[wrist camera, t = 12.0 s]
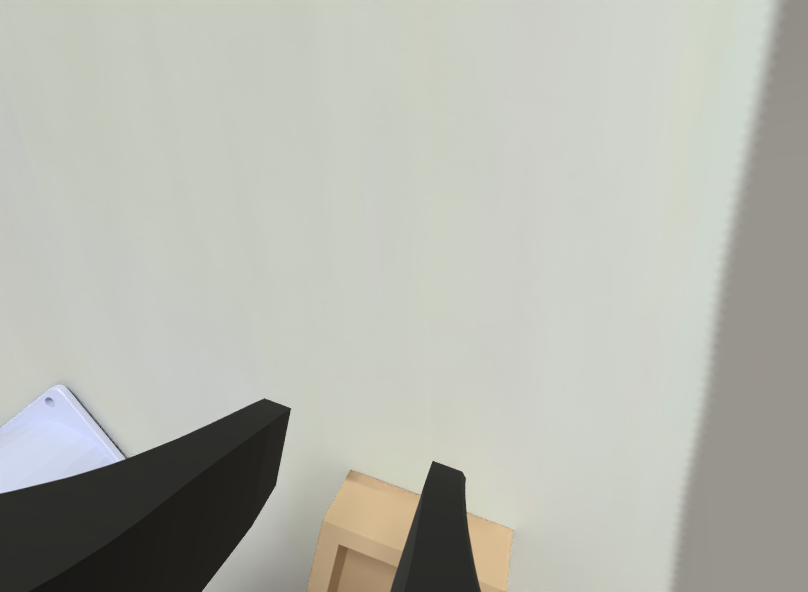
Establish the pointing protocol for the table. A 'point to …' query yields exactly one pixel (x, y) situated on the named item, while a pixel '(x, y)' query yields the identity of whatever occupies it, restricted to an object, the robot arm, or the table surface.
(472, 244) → the table surface
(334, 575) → the carton
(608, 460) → the table surface
